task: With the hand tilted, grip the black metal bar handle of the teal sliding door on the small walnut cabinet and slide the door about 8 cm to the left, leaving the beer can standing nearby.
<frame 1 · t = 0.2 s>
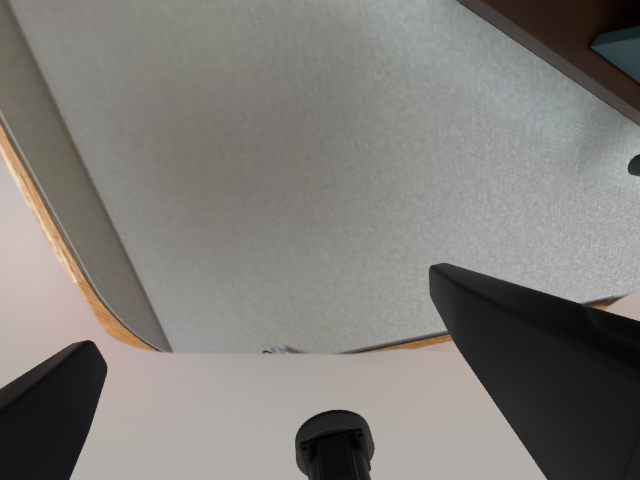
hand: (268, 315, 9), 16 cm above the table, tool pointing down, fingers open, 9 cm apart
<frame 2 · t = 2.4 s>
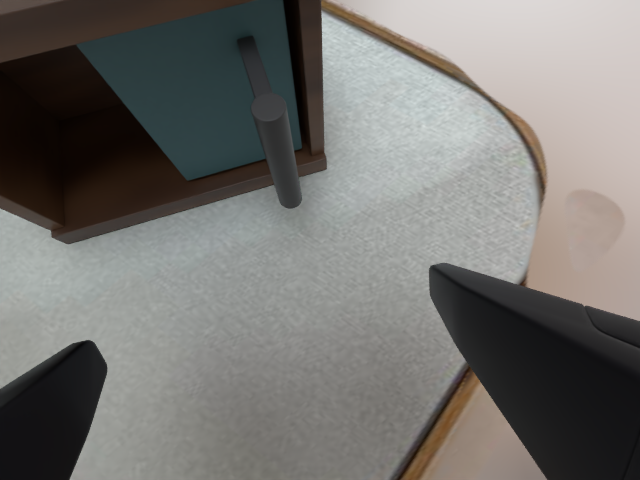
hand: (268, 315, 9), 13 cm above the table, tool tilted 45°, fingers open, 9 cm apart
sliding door: (230, 143, 18), point 7 cm above the table, slide at 0.0 cm
cabinet: (187, 142, 27), on the table
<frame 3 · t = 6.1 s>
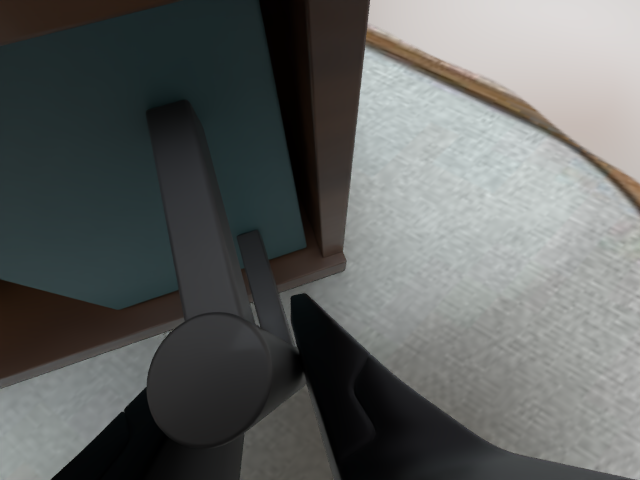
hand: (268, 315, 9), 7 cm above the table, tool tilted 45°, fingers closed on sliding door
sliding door: (162, 306, 8), point 8 cm above the table, slide at 0.0 cm, touching gripper
cabinet: (131, 228, 18), on the table
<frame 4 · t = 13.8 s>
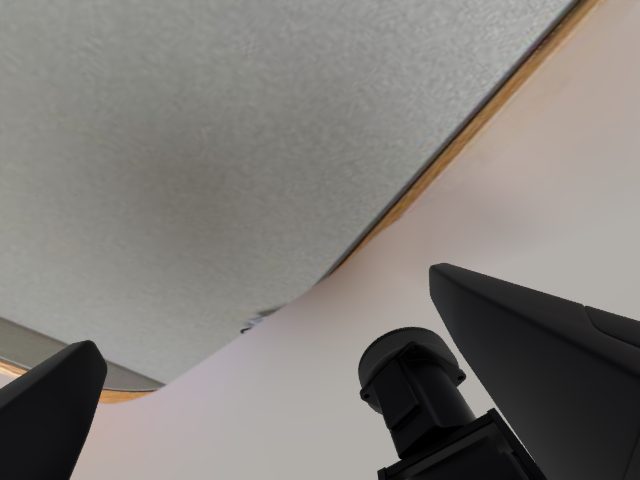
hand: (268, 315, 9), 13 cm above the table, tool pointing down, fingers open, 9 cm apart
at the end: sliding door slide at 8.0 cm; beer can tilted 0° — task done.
